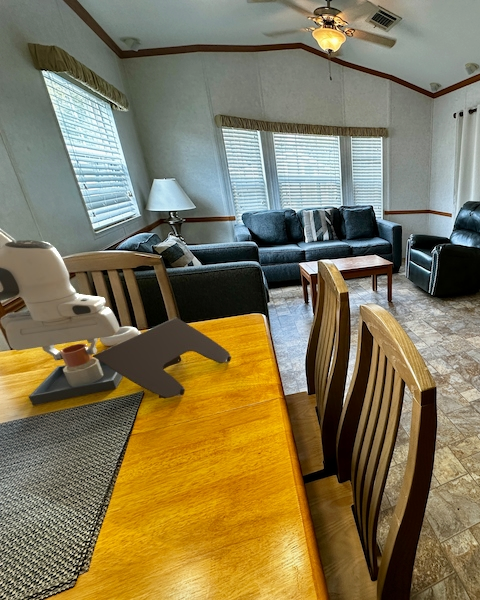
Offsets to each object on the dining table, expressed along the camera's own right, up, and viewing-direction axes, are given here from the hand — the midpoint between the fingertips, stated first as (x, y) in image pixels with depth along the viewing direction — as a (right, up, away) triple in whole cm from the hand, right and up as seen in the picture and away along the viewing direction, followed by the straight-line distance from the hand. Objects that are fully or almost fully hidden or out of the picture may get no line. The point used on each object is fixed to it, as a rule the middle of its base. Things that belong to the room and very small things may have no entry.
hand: (76, 356), depth 85 cm
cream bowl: (0, -7, +3) cm, 7 cm away
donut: (-9, +1, +24) cm, 25 cm away
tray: (0, -7, +3) cm, 8 cm away
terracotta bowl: (0, -1, +1) cm, 2 cm away
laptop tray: (+23, -6, +6) cm, 24 cm away
